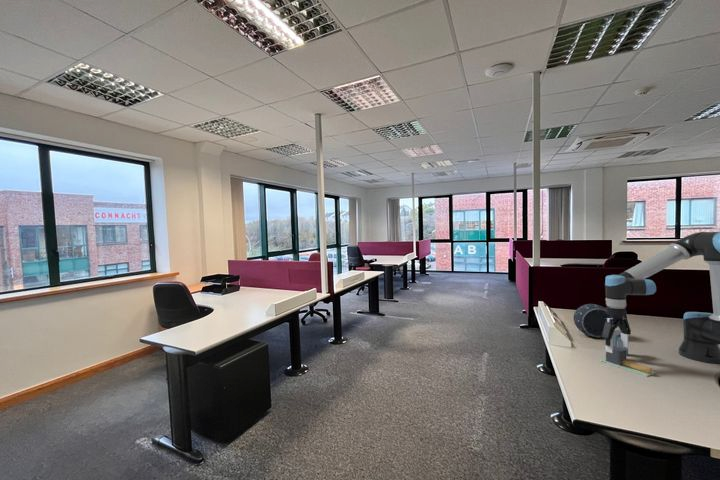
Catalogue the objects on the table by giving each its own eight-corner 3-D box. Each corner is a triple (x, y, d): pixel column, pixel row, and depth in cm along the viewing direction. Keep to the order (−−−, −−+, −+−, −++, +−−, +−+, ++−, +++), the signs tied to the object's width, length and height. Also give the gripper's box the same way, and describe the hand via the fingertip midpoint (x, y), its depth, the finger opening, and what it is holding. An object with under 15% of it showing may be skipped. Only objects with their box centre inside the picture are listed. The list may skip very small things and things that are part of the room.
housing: (618, 352, 156) (618, 329, 156) (628, 355, 152) (628, 332, 152) (606, 356, 151) (606, 333, 151) (615, 359, 148) (615, 335, 147)
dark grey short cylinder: (617, 340, 174) (617, 307, 173) (580, 338, 178) (580, 306, 177) (606, 334, 184) (606, 302, 184) (571, 332, 188) (571, 302, 188)
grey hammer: (611, 359, 147) (611, 345, 147) (653, 372, 132) (653, 357, 132) (606, 360, 145) (606, 347, 145) (647, 375, 130) (647, 359, 130)
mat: (608, 358, 149) (608, 357, 149) (654, 373, 133) (654, 372, 133) (600, 361, 147) (600, 359, 147) (646, 376, 130) (646, 375, 130)
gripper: (620, 302, 152) (621, 342, 152) (592, 308, 142) (593, 351, 142) (639, 305, 145) (640, 347, 145) (610, 312, 135) (611, 357, 135)
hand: (617, 349), depth 144 cm, fingers open, 13 cm apart
